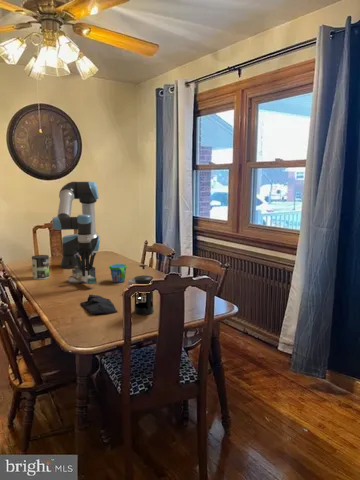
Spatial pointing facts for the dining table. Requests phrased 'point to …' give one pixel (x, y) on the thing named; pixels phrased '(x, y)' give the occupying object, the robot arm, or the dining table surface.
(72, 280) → the pin plate
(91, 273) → the keeper
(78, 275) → the link
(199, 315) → the dining table surface
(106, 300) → the black folded cloth
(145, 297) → the french press
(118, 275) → the snack cup
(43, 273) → the coffee can
